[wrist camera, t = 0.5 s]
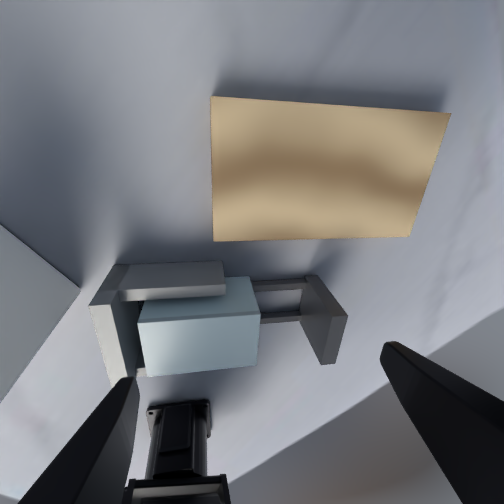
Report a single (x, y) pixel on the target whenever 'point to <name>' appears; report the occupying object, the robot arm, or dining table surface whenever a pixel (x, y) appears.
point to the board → (318, 169)
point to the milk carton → (27, 306)
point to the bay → (127, 311)
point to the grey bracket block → (233, 326)
